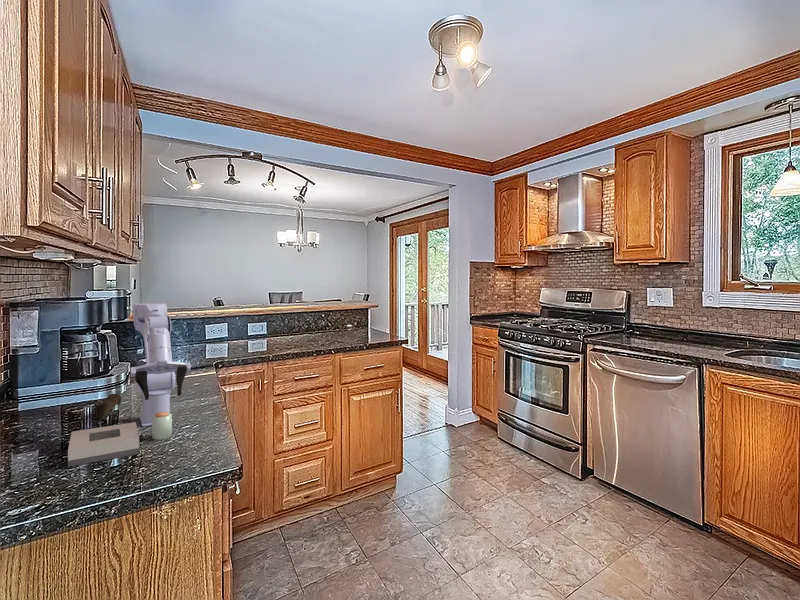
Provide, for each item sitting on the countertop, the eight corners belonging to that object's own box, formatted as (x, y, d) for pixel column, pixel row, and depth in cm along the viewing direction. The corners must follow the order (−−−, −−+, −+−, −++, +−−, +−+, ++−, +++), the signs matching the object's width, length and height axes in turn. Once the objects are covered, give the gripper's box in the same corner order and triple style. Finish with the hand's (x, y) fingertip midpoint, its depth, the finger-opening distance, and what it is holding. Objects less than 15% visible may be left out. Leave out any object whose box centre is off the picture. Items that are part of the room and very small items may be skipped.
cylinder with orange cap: (151, 435, 116) (151, 412, 116) (170, 432, 119) (170, 409, 118) (152, 441, 112) (152, 417, 112) (172, 437, 115) (172, 414, 114)
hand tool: (108, 405, 143) (107, 391, 143) (121, 404, 144) (121, 391, 144) (86, 423, 125) (86, 408, 125) (102, 422, 126) (101, 407, 126)
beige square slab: (71, 446, 107) (71, 431, 107) (135, 436, 115) (135, 422, 115) (68, 467, 95) (67, 450, 95) (139, 453, 104) (139, 438, 103)
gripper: (130, 347, 111) (132, 393, 105) (190, 343, 120) (195, 386, 113) (129, 360, 116) (131, 405, 109) (186, 356, 124) (191, 397, 118)
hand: (163, 396), depth 112 cm, fingers open, 7 cm apart
